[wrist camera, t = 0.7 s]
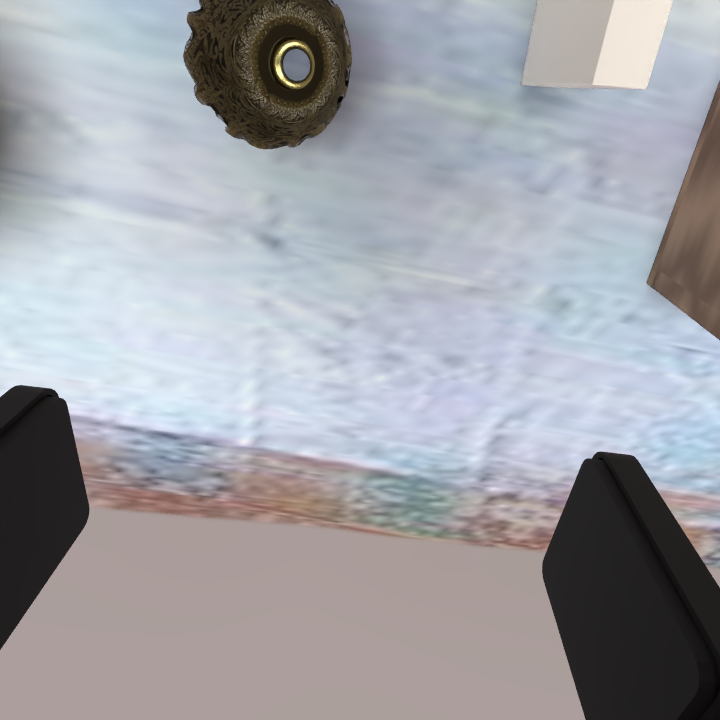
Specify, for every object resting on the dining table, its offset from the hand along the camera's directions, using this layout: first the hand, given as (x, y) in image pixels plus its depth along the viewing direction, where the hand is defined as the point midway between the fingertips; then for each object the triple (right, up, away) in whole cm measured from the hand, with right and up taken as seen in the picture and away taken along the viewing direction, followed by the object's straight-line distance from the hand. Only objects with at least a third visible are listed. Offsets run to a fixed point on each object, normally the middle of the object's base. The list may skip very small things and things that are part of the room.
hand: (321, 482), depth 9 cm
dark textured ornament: (-3, +19, +20) cm, 28 cm away
